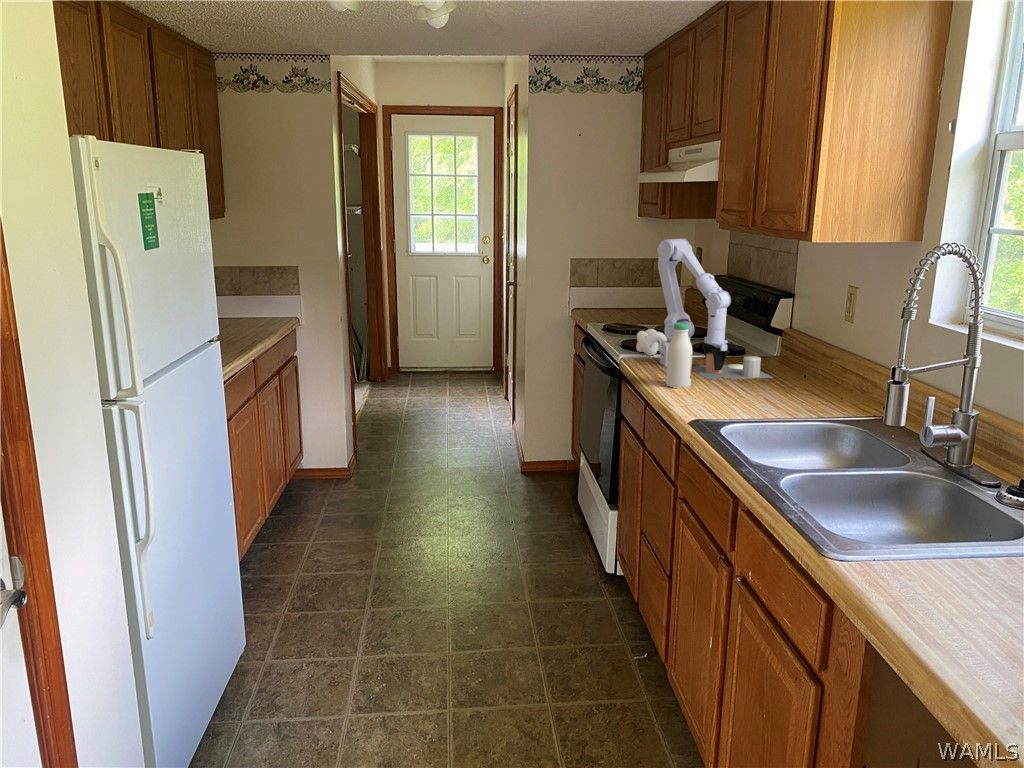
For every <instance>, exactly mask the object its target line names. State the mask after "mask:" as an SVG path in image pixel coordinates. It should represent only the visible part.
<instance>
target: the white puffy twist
mask: <svg viewBox="0 0 1024 768" xmlns="http://www.w3.org/2000/svg"><path fill="white" fill-rule="evenodd" d="M636 341H637V343H636V347H635V349H636V351H637V352H638V351H639V352H644V353H643V354H645V355H647V356H649V355H650V356H649V357H652V355H653V356H655V355H656V354H658V353H657V351H660V350H661V343H662V342H663V341H667V338H666V336H665V333H663V332H662V331H657V330H656V329H654V328H649V329H647V330H645V331H644V330H639V331H638V332H637V334H636ZM639 352H638V353H639Z"/></svg>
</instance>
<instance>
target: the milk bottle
mask: <svg viewBox="0 0 1024 768" xmlns="http://www.w3.org/2000/svg"><path fill="white" fill-rule="evenodd" d="M688 331H689V324H688V323H675V324H674V335H673V338H672V340H671V342H670V344H669V347H668V354H667V367H666V371H665V372H666V373H665V377H666V378H665V384H666V386H667V387H668V386H670V387H669V388H671V387H680V388H679V389H683V388H682V387H686V388H689V387H691V385H692V371H693V370H692V366H693V346H692V343H691V339H690V340H689V337H688Z"/></svg>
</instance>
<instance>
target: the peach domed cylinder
mask: <svg viewBox="0 0 1024 768" xmlns="http://www.w3.org/2000/svg"><path fill="white" fill-rule="evenodd" d="M705 366H706V368H705V372H707V373H714V374H718V373H722V370H715V368H714V357H713V353H707V355H706V359H705Z"/></svg>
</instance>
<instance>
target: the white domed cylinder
mask: <svg viewBox="0 0 1024 768" xmlns="http://www.w3.org/2000/svg"><path fill="white" fill-rule="evenodd" d="M761 363H762V357H761V356H756V355H747V356H743V361H742V364H743V372H742V375H743V376H745V377H759V376H760V371H761Z"/></svg>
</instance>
